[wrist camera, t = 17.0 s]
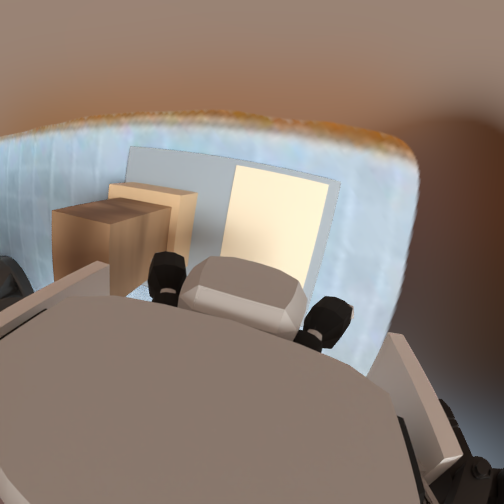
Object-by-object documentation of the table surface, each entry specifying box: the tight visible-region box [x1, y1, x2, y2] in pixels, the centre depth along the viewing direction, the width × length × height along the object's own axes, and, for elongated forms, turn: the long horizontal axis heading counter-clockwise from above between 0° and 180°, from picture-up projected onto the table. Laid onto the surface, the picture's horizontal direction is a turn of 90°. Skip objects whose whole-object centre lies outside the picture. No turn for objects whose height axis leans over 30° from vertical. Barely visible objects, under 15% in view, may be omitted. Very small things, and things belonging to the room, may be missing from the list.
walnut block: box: [52, 197, 172, 297], centre depth 18 cm, size 5×5×8 cm
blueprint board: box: [108, 146, 341, 327], centre depth 24 cm, size 20×14×5 cm
